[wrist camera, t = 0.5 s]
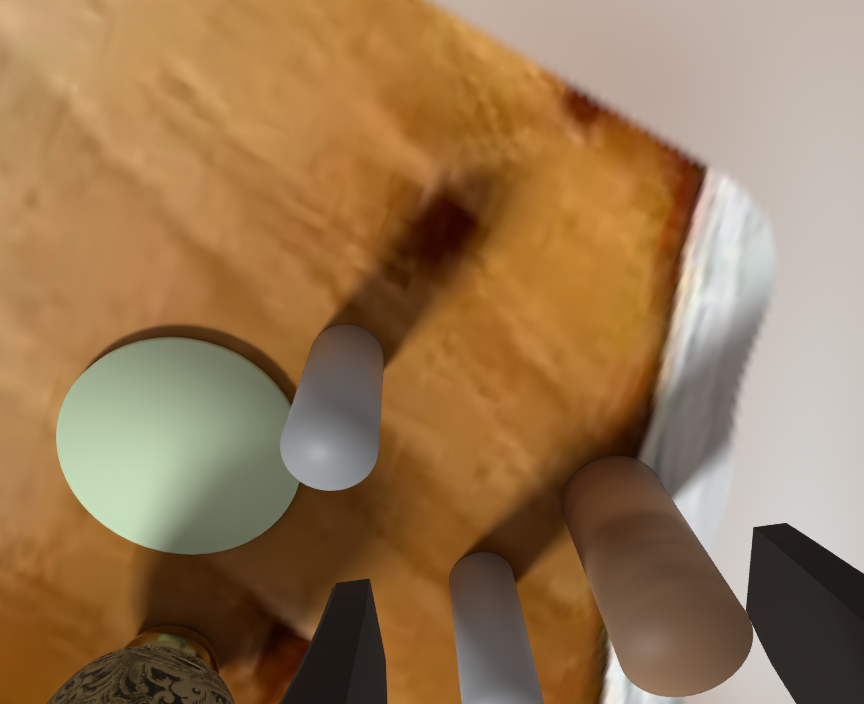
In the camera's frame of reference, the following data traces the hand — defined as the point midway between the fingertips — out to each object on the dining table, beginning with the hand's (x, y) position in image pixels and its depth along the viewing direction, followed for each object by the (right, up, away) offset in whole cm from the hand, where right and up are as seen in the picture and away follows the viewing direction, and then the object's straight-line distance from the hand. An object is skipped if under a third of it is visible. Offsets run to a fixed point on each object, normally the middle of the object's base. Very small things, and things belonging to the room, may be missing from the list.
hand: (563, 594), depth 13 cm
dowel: (+4, -1, +12) cm, 13 cm away
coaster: (-11, +1, +11) cm, 15 cm away
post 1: (-5, +4, +10) cm, 12 cm away
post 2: (-1, -4, +13) cm, 14 cm away
